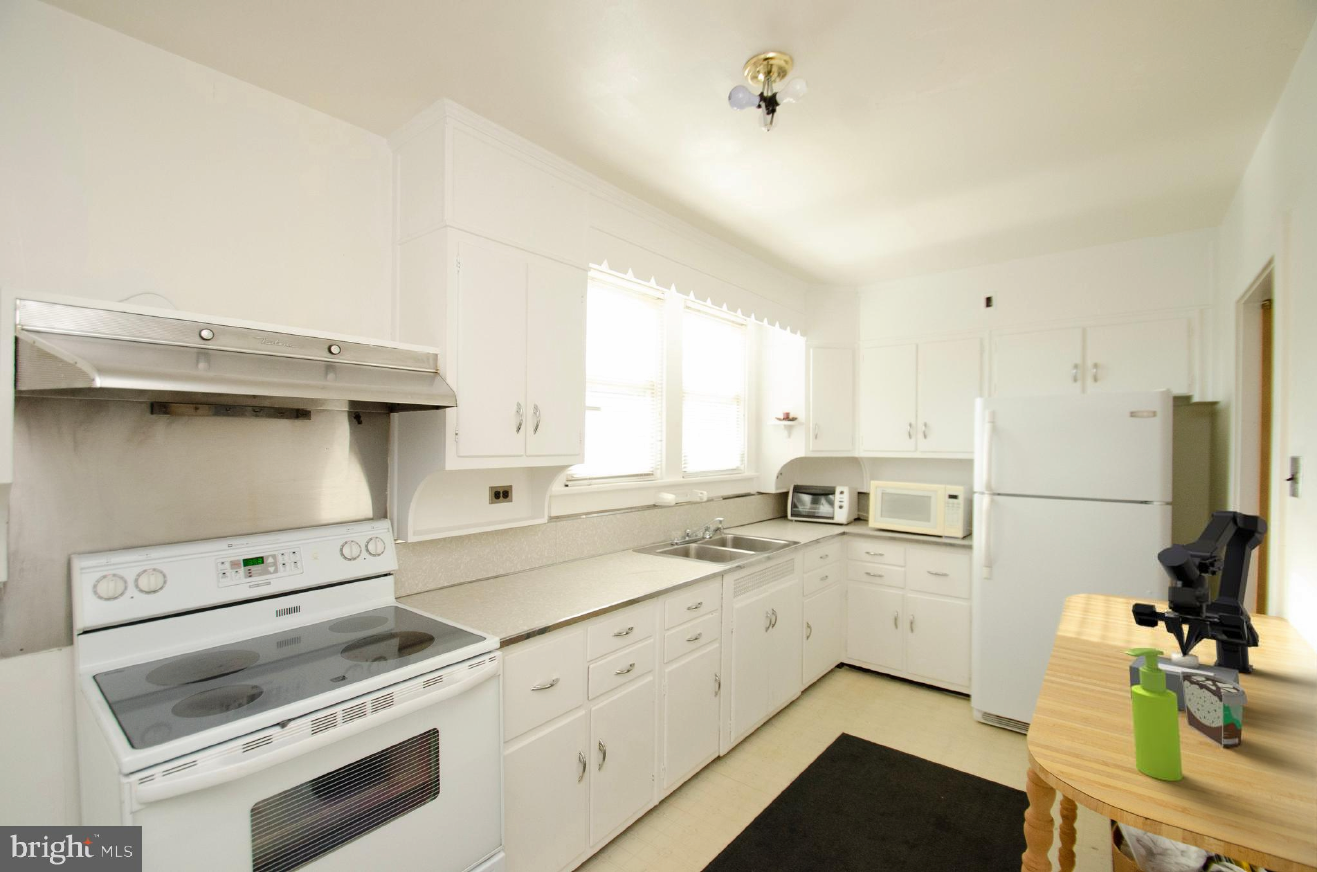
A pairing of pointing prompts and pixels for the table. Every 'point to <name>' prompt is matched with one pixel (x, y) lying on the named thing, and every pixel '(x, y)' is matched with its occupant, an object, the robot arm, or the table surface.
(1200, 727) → the food container
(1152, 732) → the soap dispenser
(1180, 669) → the console
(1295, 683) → the table surface
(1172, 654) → the knob
